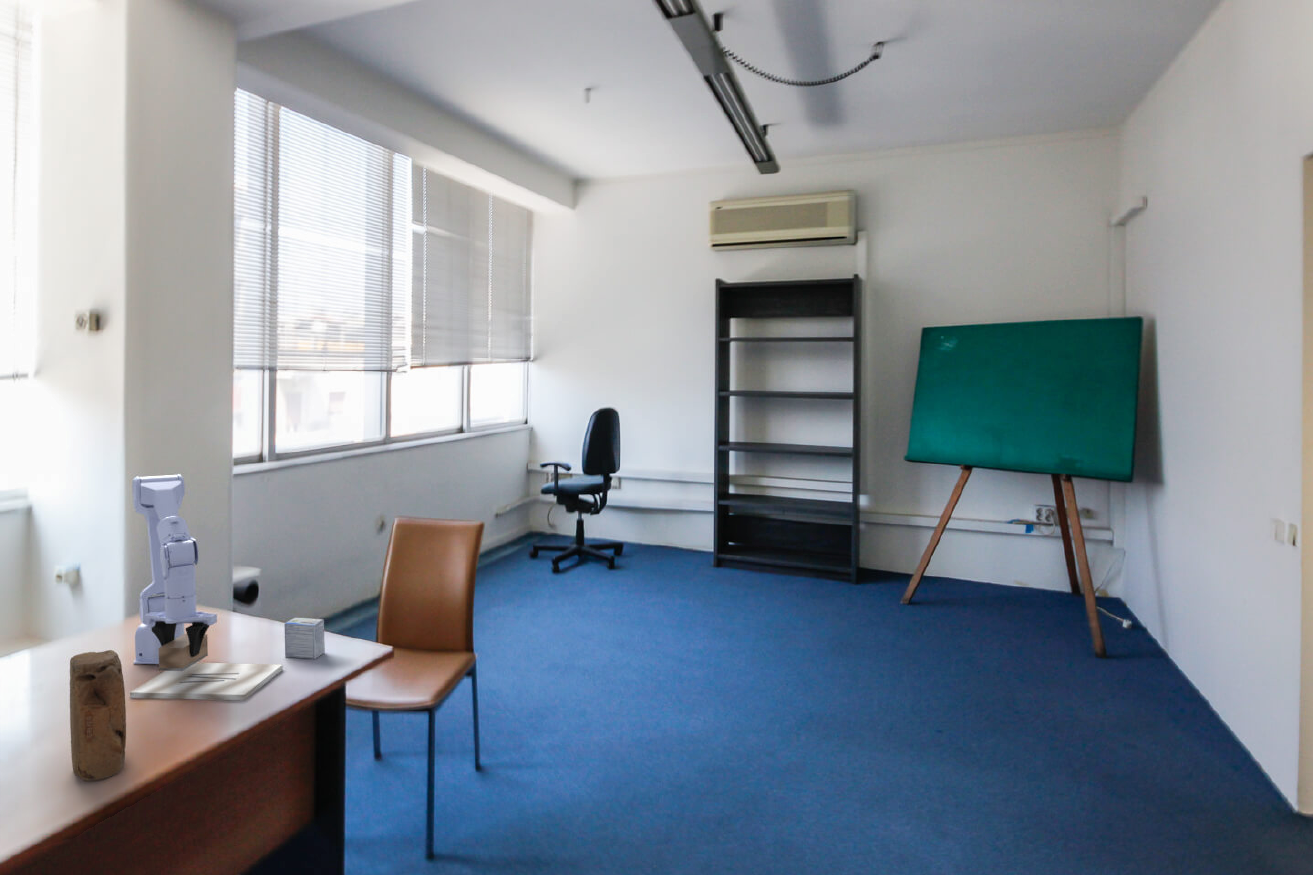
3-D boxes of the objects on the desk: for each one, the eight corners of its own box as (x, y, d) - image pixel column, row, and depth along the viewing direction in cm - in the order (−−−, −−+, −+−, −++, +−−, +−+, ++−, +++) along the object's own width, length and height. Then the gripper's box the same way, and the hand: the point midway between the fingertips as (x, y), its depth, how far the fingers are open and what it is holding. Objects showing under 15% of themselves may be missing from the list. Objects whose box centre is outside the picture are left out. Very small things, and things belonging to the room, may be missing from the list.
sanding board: (129, 697, 152) (129, 691, 152) (179, 667, 168) (178, 662, 168) (244, 700, 153) (244, 694, 152) (282, 669, 169) (282, 664, 168)
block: (71, 762, 127) (66, 652, 125) (123, 749, 132) (119, 643, 130) (74, 790, 119) (69, 672, 117) (130, 774, 124) (126, 661, 122)
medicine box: (325, 652, 179) (325, 618, 179) (315, 659, 175) (314, 624, 174) (295, 650, 180) (294, 616, 179) (284, 657, 176) (283, 622, 175)
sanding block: (159, 670, 156) (158, 647, 156) (185, 654, 165) (185, 633, 165) (182, 670, 156) (182, 648, 156) (207, 655, 165) (207, 634, 165)
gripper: (134, 599, 155) (136, 661, 156) (202, 601, 155) (204, 662, 156) (156, 590, 162) (158, 648, 163) (221, 591, 162) (223, 650, 163)
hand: (182, 654), depth 160 cm, fingers closed on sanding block, 5 cm apart
